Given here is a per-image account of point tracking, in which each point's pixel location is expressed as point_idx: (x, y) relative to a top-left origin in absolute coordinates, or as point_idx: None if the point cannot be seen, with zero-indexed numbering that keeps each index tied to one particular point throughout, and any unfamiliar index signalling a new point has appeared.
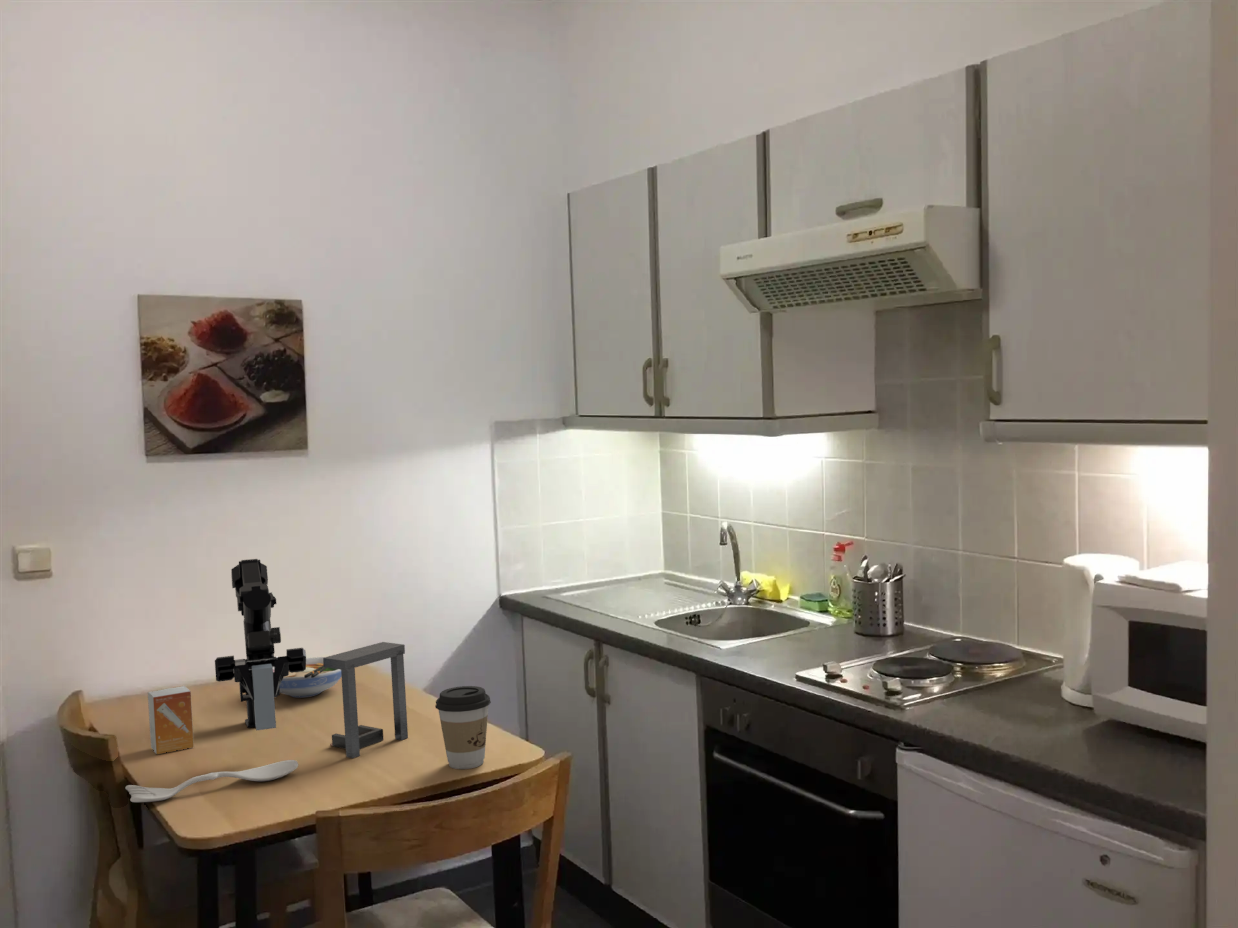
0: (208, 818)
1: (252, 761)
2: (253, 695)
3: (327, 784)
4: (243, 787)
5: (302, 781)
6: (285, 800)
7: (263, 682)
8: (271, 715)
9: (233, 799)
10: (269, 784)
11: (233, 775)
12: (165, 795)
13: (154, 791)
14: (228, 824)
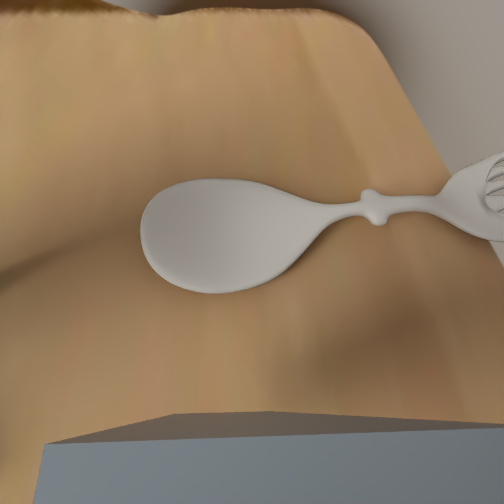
0: (343, 75)
1: None
2: None
3: (99, 122)
4: None
5: (149, 169)
6: (204, 84)
7: (257, 421)
8: (192, 414)
9: (306, 138)
10: None
11: (320, 203)
12: (456, 182)
13: (491, 222)
14: (306, 39)
